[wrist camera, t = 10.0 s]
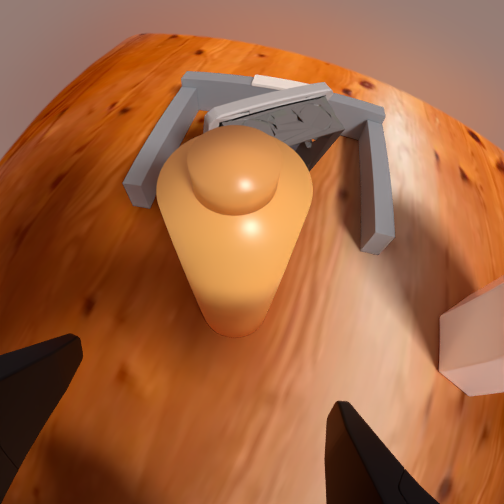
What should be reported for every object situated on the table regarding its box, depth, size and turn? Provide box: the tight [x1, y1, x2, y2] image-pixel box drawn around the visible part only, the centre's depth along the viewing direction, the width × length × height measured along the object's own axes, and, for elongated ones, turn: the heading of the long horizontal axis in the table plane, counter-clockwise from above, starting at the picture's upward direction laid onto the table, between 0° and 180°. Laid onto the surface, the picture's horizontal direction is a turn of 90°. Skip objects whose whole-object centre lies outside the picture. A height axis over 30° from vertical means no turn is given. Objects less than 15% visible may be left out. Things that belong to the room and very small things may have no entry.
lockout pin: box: [156, 125, 313, 338], centre depth 13 cm, size 4×4×14 cm
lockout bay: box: [123, 71, 395, 255], centre depth 24 cm, size 15×20×4 cm
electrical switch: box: [203, 82, 345, 171], centre depth 21 cm, size 9×5×9 cm, turn 119°
